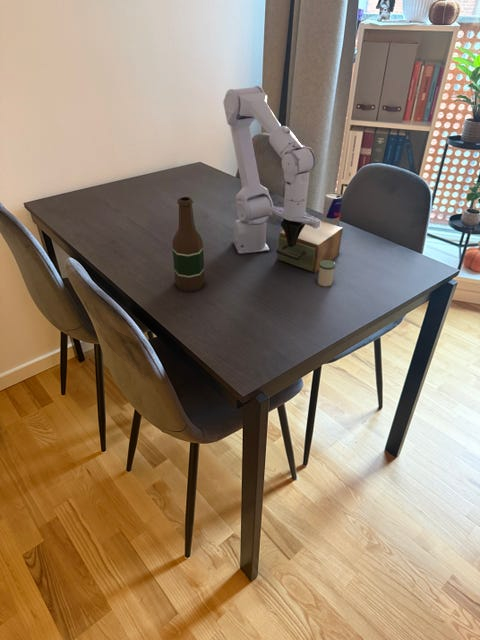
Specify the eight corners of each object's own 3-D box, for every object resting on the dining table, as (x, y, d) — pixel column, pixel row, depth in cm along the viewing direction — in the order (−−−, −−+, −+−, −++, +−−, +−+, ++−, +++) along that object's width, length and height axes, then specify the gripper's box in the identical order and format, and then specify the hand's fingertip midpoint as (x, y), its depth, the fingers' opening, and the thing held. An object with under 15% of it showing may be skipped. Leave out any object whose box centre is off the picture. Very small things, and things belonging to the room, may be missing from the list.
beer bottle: (175, 277, 131) (169, 192, 117) (204, 276, 132) (201, 192, 118) (175, 292, 125) (168, 205, 111) (204, 291, 126) (201, 204, 112)
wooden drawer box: (315, 272, 134) (318, 245, 129) (277, 259, 141) (279, 232, 135) (339, 254, 144) (342, 227, 138) (302, 242, 150) (305, 216, 145)
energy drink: (337, 235, 154) (342, 199, 147) (320, 233, 155) (324, 197, 148) (338, 228, 158) (343, 193, 151) (321, 226, 159) (326, 191, 152)
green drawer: (303, 277, 130) (305, 255, 126) (268, 264, 136) (269, 243, 132) (333, 253, 142) (336, 232, 138) (300, 242, 147) (302, 222, 143)
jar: (320, 287, 128) (322, 268, 125) (314, 279, 132) (316, 260, 128) (335, 285, 129) (338, 266, 125) (329, 277, 132) (332, 259, 129)
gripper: (328, 199, 122) (322, 247, 130) (280, 186, 129) (277, 233, 137) (314, 208, 117) (309, 257, 125) (265, 194, 124) (263, 241, 132)
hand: (291, 245), depth 131 cm, fingers closed
